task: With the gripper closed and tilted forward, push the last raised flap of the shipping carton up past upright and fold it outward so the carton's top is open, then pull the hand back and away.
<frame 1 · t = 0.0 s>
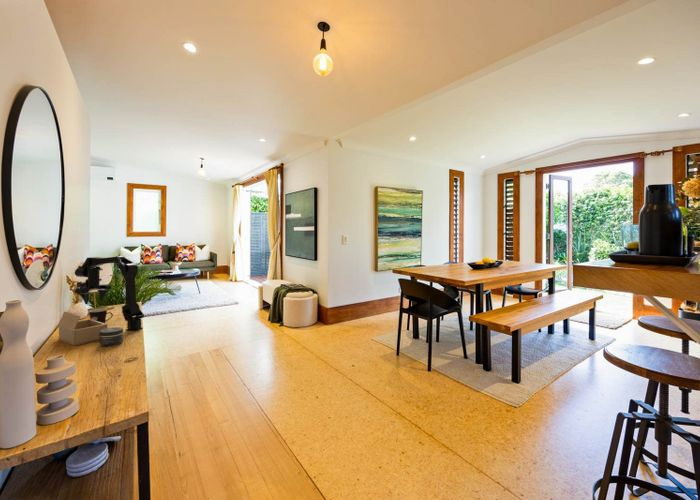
hand: (93, 302, 192), 15 cm above the table, tool pointing down, fingers open, 9 cm apart
shipping carton: (82, 339, 169), on the table
carton flap: (69, 320, 164), point 12 cm above the table, hinge at -20.0°
coffee mug: (100, 327, 192), on the table
jar: (111, 344, 163), on the table
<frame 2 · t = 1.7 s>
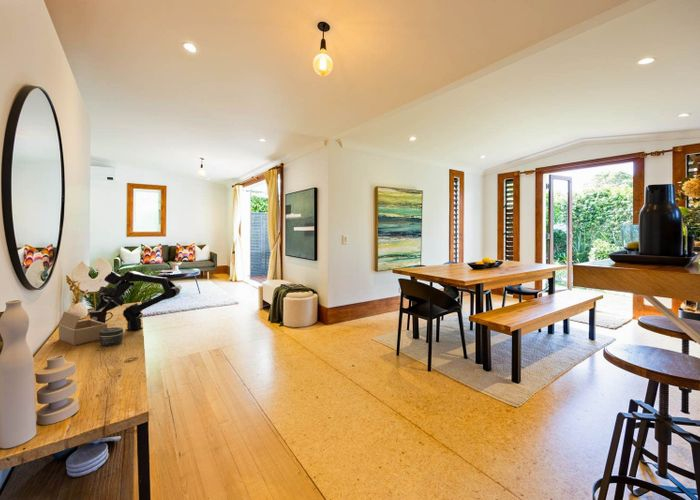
hand: (98, 311, 175), 14 cm above the table, tool tilted 45°, fingers open, 7 cm apart
nothing on the table moved.
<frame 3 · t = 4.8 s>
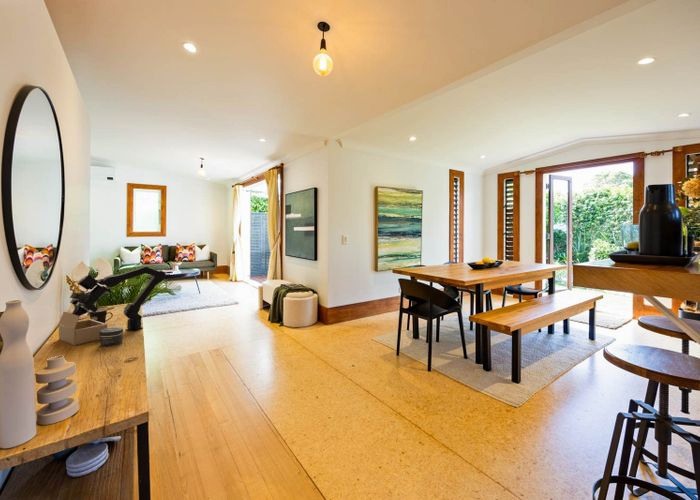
hand: (70, 319, 164), 12 cm above the table, tool tilted 45°, fingers closed, pressing on carton flap
carton flap: (69, 320, 164), point 12 cm above the table, hinge at -18.5°, touching gripper
everything else where it was.
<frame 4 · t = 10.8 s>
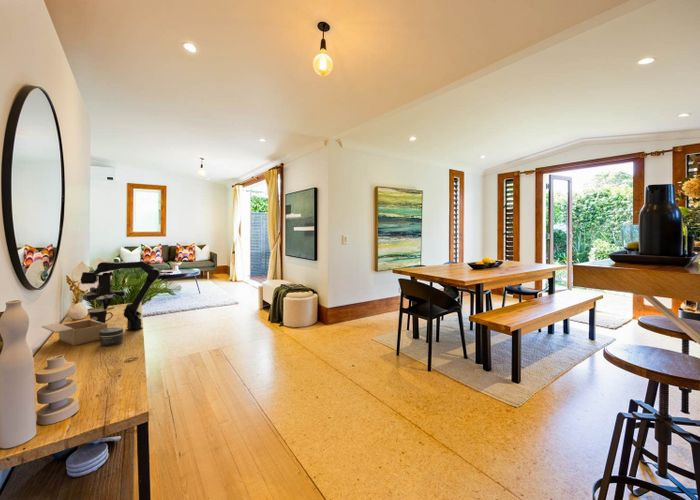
hand: (104, 309, 182), 13 cm above the table, tool pointing down, fingers closed
carton flap: (57, 327, 160), point 9 cm above the table, hinge at 89.9°
everything else where it was.
at the end: carton flap at +90° (first picture: -20°); jar moved 0.3 cm from its start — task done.
